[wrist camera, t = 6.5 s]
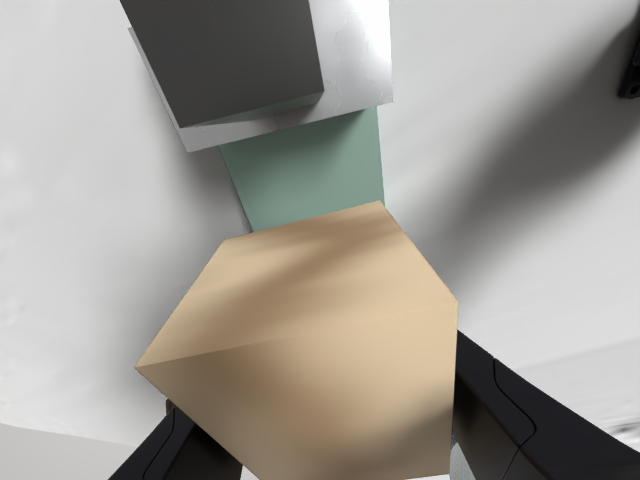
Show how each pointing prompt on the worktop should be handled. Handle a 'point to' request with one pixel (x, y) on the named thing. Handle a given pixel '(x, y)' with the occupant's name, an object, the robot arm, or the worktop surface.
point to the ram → (261, 62)
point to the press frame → (307, 169)
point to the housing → (317, 351)
